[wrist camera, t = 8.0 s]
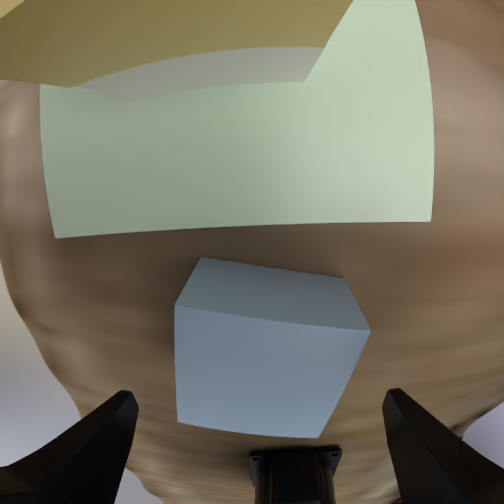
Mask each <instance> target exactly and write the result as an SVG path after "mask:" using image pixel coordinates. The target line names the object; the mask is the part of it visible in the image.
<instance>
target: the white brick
mask: <svg viewBox="0 0 504 504" xmlns="http://www.w3.org/2000/svg"><path fill="white" fill-rule="evenodd" d="M326 46H327V44H326ZM326 46H325V47H326ZM325 47H324V48H320V47H261V48H245V49H233V50H223V51H215V52H207V53H200V54H193V55H187V56H182V57H176V58H171V59H166V60H161V61H157V62H152V63H148V64H144V65H140V66H136V67H132V68H128V69H125V70H121V71H118V72H115V73H111V74H108V75H105V76H102V77H99V78H96V79H93V80H90V81H87V82H84V83H82V84H79V85H76V86H75V87H80V88H85V89H90V90H94V91H99V92H103V93H107V94H112V95H116V96H120V97H124V98H127V99H131V100H135V101H136V100H141V99H145V98H150V97H155V96H160V95H165V94H171V93H176V92H182V91H189V90H196V89H203V88H211V87H220V86H229V85H241V84H256V83H280V82H305V81H306V79H307V77H308V76H309V74H310V72H311V70H312V69H313V67H314V65H315V64H316V62H317V60H318V59H319V57H320V55H321V54H322V52H323V51H324V49H325Z"/></svg>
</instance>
